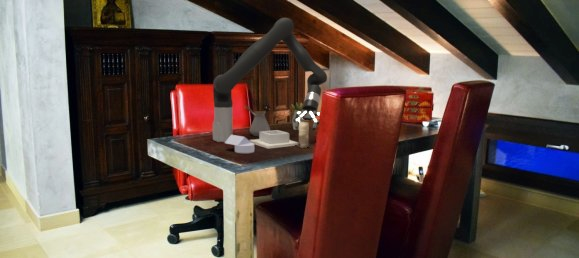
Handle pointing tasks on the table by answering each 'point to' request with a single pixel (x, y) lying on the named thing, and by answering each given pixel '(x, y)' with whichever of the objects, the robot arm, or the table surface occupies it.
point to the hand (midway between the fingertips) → (305, 129)
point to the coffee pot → (258, 122)
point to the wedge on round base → (240, 144)
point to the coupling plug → (303, 134)
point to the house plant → (294, 112)
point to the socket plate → (273, 139)
